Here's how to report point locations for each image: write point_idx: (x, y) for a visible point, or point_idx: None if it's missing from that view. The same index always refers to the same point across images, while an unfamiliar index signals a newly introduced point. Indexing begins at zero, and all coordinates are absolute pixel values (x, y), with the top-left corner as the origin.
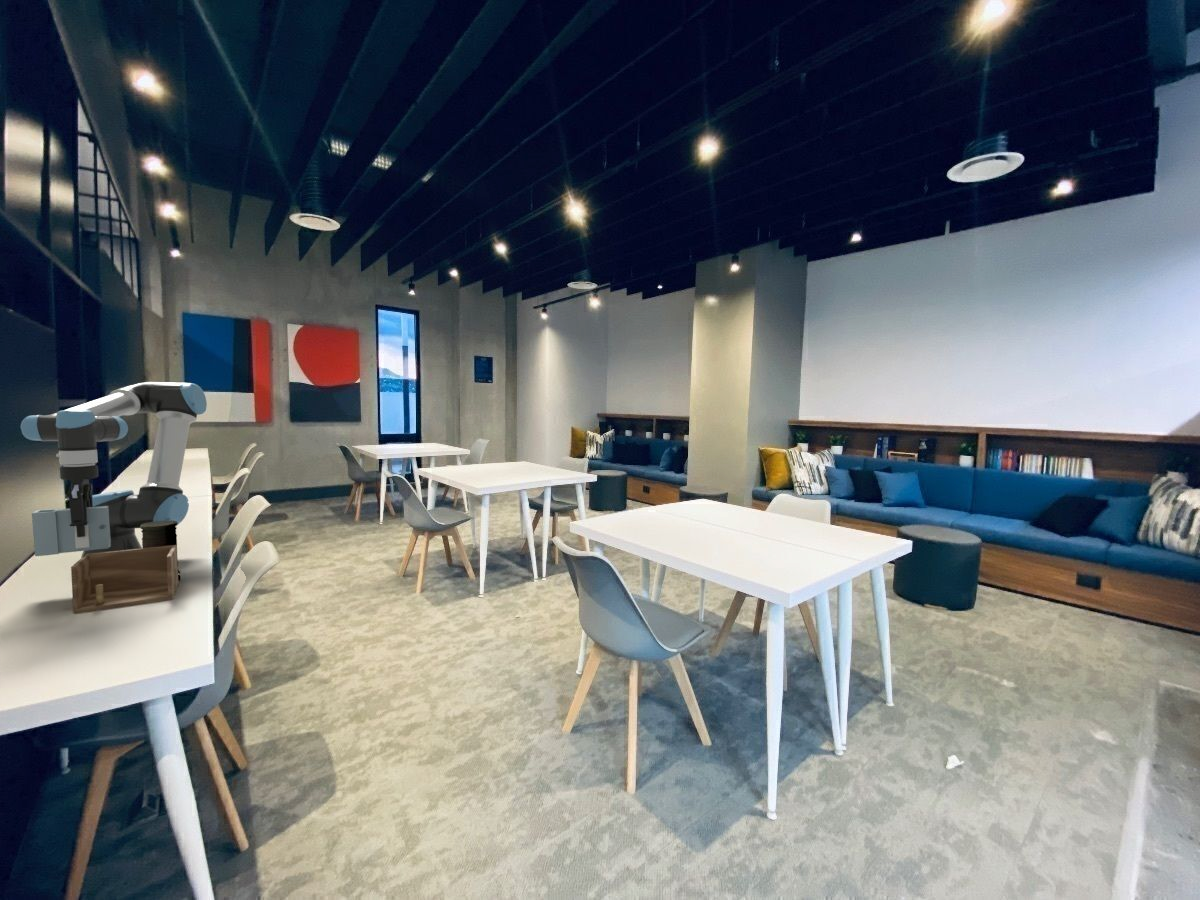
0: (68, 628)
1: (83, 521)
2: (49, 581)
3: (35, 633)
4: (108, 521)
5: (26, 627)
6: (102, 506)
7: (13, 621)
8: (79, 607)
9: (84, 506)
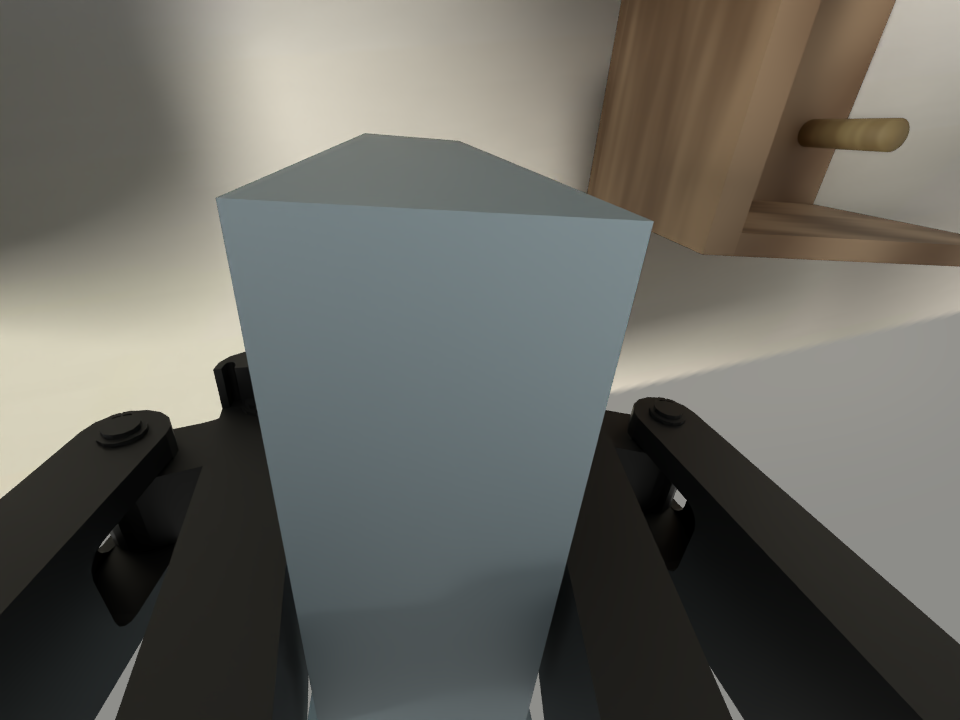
0: (952, 200)
1: (701, 425)
2: (207, 386)
3: (908, 279)
4: (397, 154)
5: (822, 314)
6: (314, 368)
7: (724, 359)
8: (792, 202)
9: (703, 671)
